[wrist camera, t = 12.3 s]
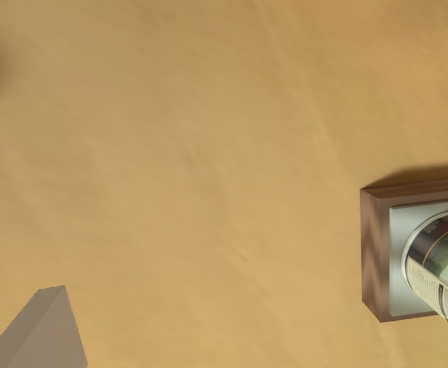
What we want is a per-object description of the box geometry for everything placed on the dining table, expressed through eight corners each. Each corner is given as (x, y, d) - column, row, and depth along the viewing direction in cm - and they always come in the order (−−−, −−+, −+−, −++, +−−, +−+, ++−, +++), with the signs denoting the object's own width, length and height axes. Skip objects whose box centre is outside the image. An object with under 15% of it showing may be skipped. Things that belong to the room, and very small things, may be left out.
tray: (360, 189, 39) (383, 200, 35) (480, 174, 40) (518, 184, 35) (362, 300, 43) (383, 326, 38) (473, 285, 43) (508, 308, 38)
